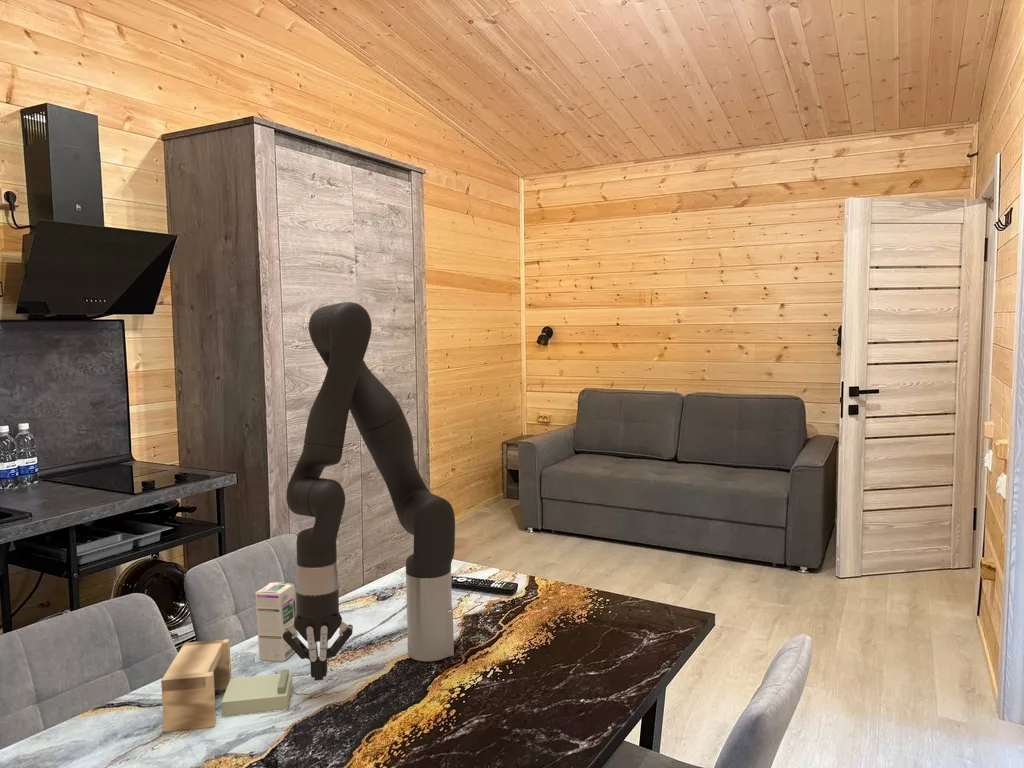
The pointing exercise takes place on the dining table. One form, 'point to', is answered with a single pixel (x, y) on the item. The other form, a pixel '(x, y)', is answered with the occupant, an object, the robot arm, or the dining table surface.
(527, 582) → the dining table surface
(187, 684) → the wooden c-channel bracket
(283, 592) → the syrup box
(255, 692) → the panel
